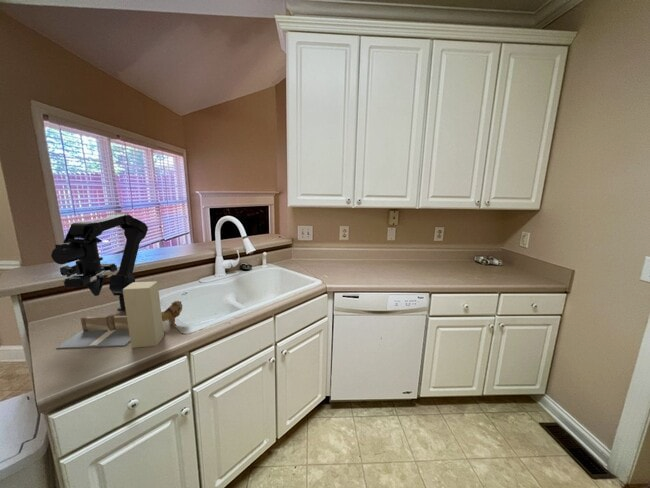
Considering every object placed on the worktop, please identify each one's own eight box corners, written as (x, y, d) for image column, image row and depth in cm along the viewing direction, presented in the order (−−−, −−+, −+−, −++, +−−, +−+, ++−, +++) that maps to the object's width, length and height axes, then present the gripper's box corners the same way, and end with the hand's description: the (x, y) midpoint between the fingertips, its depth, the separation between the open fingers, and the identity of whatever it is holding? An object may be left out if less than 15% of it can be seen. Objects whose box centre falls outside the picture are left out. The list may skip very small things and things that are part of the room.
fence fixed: (112, 328, 101) (109, 314, 100) (143, 327, 102) (141, 313, 101) (108, 331, 99) (105, 317, 98) (140, 329, 100) (138, 316, 99)
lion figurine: (181, 318, 110) (178, 297, 108) (186, 322, 106) (184, 301, 104) (139, 332, 99) (135, 309, 97) (143, 337, 96) (140, 314, 94)
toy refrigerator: (165, 334, 98) (158, 280, 93) (157, 346, 91) (148, 288, 86) (141, 336, 97) (133, 281, 92) (131, 348, 90) (121, 289, 85)
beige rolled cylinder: (85, 328, 100) (83, 316, 99) (110, 327, 101) (108, 315, 100) (81, 331, 98) (79, 319, 97) (107, 330, 99) (105, 318, 98)
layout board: (97, 320, 107) (97, 319, 107) (154, 319, 109) (154, 317, 109) (56, 348, 89) (56, 347, 89) (125, 345, 91) (124, 344, 91)
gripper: (85, 250, 108) (92, 286, 111) (41, 264, 89) (52, 307, 93) (114, 250, 109) (121, 286, 112) (77, 263, 90) (86, 306, 94)
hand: (96, 295), depth 103 cm, fingers closed
